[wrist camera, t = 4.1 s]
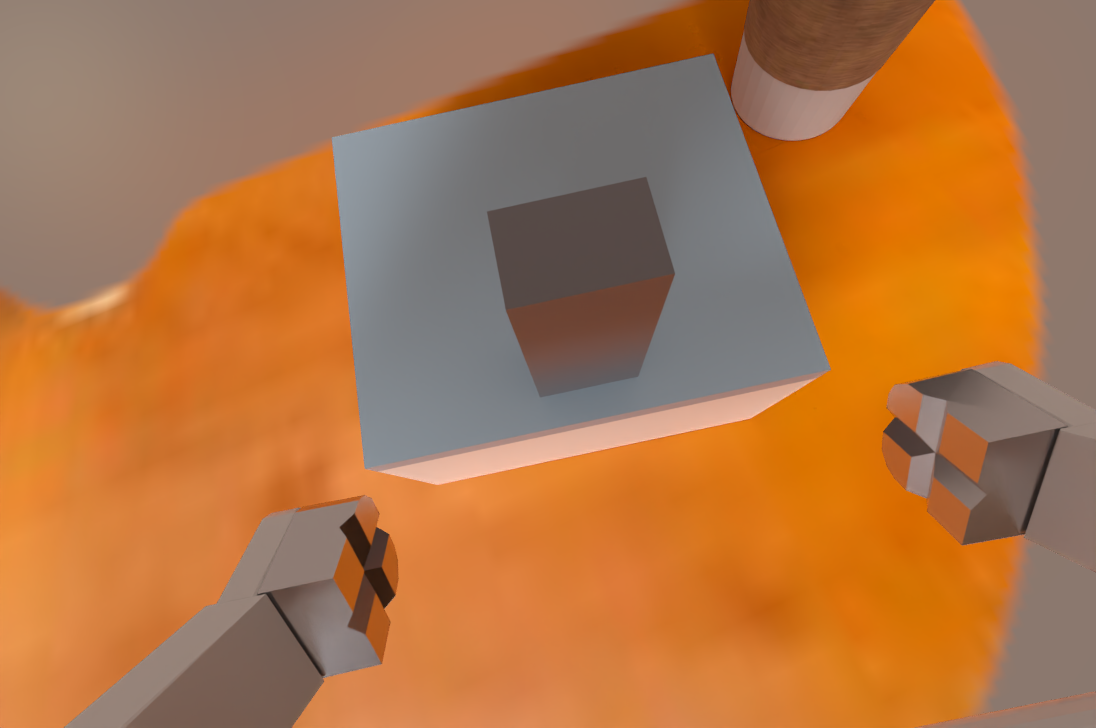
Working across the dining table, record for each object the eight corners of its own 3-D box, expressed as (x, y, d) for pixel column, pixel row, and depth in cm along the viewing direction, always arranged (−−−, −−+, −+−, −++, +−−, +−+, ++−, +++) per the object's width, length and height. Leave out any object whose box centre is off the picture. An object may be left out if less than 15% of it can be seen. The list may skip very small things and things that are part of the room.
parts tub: (437, 484, 23) (377, 471, 17) (404, 246, 27) (344, 155, 20) (750, 418, 23) (816, 378, 16) (677, 187, 27) (707, 75, 20)
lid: (389, 474, 18) (199, 431, 9) (354, 172, 21) (193, -68, 12) (804, 385, 17) (1015, 256, 9) (701, 95, 21) (782, -201, 12)
